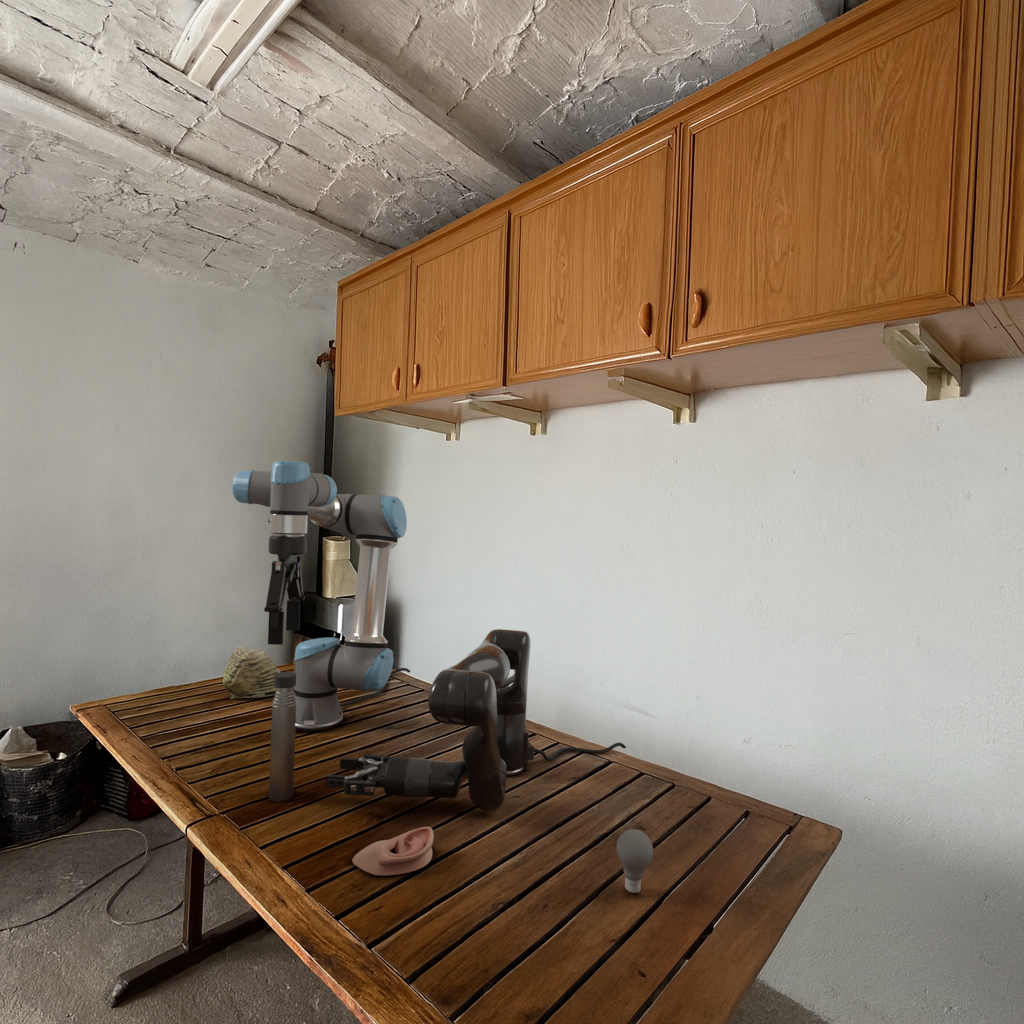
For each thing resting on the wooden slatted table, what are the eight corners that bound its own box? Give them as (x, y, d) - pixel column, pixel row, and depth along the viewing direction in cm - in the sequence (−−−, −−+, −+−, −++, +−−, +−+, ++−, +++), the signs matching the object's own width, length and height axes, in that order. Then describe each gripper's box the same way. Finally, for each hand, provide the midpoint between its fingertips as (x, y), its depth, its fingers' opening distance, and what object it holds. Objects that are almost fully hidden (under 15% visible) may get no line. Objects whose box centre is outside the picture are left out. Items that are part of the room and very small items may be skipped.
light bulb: (610, 879, 108) (613, 822, 108) (644, 879, 109) (647, 822, 109) (619, 902, 102) (622, 840, 102) (655, 901, 103) (658, 840, 103)
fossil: (218, 695, 195) (220, 647, 195) (278, 685, 208) (279, 640, 207) (228, 703, 189) (230, 653, 188) (289, 692, 201) (290, 645, 201)
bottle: (263, 798, 132) (268, 677, 132) (280, 789, 136) (284, 672, 136) (281, 803, 130) (286, 680, 130) (297, 793, 135) (302, 675, 134)
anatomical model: (344, 847, 108) (373, 814, 119) (343, 870, 108) (372, 835, 119) (418, 859, 105) (440, 825, 116) (417, 883, 105) (439, 846, 116)
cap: (269, 686, 132) (269, 675, 132) (284, 681, 136) (284, 670, 136) (285, 689, 130) (286, 678, 130) (300, 684, 134) (300, 673, 134)
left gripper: (285, 531, 144) (282, 624, 145) (250, 538, 120) (246, 650, 120) (319, 532, 145) (315, 625, 145) (291, 539, 120) (287, 651, 121)
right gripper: (418, 745, 139) (345, 741, 139) (403, 773, 124) (322, 768, 125) (416, 779, 139) (343, 774, 140) (401, 811, 125) (320, 805, 125)
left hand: (284, 637), depth 133 cm, fingers open, 13 cm apart
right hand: (333, 771), depth 132 cm, fingers open, 8 cm apart
